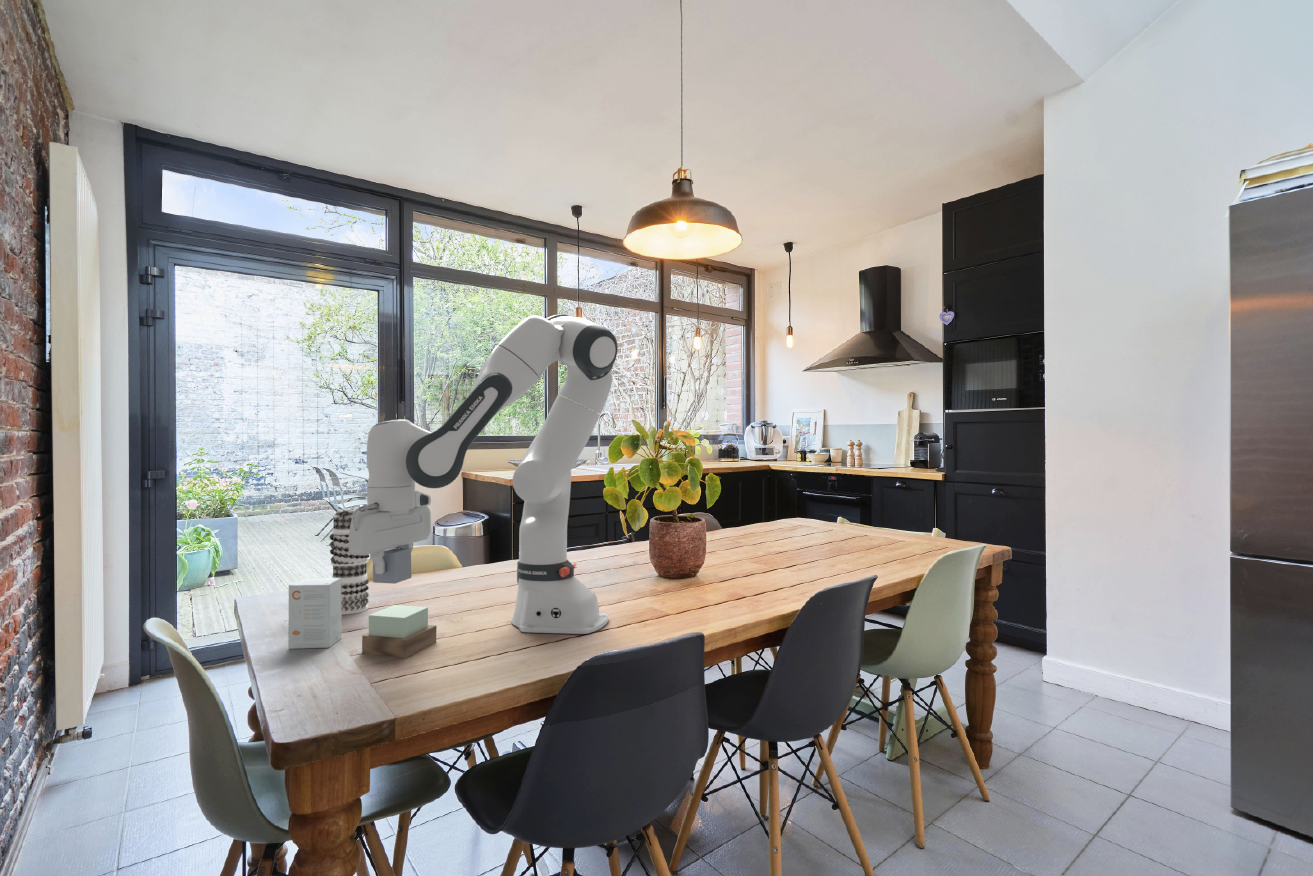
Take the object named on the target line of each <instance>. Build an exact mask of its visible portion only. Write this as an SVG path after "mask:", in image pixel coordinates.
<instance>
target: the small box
mask: <svg viewBox="0 0 1313 876" xmlns="http://www.w3.org/2000/svg"><path fill="white" fill-rule="evenodd" d="M342 618H343V617H342V612H341V578H332V577H329V578H327V577H326V578H302V579H301V578H300V580H297V581H295V582H293V583H290V584H289V585H288V640H287V641H288V649H289V650H292V649H293V650H296V649H321V648H324V649H325V648H326V649H329V648H331V647H332V646H333V645H335V644H336V643H337V642H338V641H339V640H341V639H342Z"/></svg>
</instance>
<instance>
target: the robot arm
mask: <svg viewBox="0 0 1313 876" xmlns="http://www.w3.org/2000/svg"><path fill="white" fill-rule="evenodd" d="M618 348H619V346H618V340H617V338H616V336H615V334H614V333H613V332H612V331H611V330H610V329H608V328H607V327H605V326H603V325H602V324H597V323H595V322H593V321H591V320H589V319H586V318H583V317H582V318H581V317H575V316H571V315H568V314H554V315H551V316H549V317H546V318H545V317H543V316H540V315H531V316H527V318H524V319H523V320H522V321H520V322H519V323H518V324H517V325H516V326H515V327H514V328H512V329H511V330H510V331H509V332H508V333H507V334H506V335H505V336H504V337H503V338H502V340H500V342H499V343H498V344H497V345H496V346H495V347H494V348H493V350H492V351H491V353H490V354H489V355H488V357H487V358H486V360H485V362H484V363H483V365H482V367H481V369H480V371H479V373H478V375H477V378H476V380H475V382H474V385H473V387H472V389H471V391H470V392H469V394H468V395H467V396H466V398H465V399H464V400H463V401H462V403H461V404H460V405H459V406H458V407H457V409H456V410H455V411H454V412H453V413H452V414H451V415H450V417H448V419H447V420H446V421H445V422H444V423H443V424H442V425H441V426H440V427H439V428H438V429H436V430H434V431H433V432H431V431H429V430H426V429H424V428H422V427H420V426H418V425H416V424H415V423H414V422H412V421H410V420H409V419H405V418H402V419H401V418H399V419H391V420H386V421H381V422H378V423H376V424H375V425H373V426H372V427H371V428H370V430H369V431H368V436H367V441H366V442H367V443H366V467H367V469H368V480H367V485H366V487H367V488H366V495H367V496H366V499H367V500H366V502H367V503H366V504H360V505H359V506H357V509H356V510H355V512H354V513H353V515H352V520H351V524H350V531H349V544H348V548H349V551H350V553H351V554H352V555H369V558H370V559H371V561H372V564H373V563H374V565H375V573H376V574H383V573H386V572H387V571H388V569H387V568H388V564H385V563H384V560H383V558H382V556H384V550H388V549H392V548H411V553H412V552H413V550H414V543H418V542H422V541H425V540H428V539H429V537H430V535H431V532H432V531H431V529H432V519H431V518H432V517H431V516H432V515H431V509H430V508H429V506H430V505H431V503H432V499H431V498H432V497H431V496H430V494H426V493H424V492H422V491H421V492H420V491H419V490H416V484H418V485H420V486H422V487H424V488H427V489H440V488H441V489H442V488H445V487H446V486H449V485H450V484H451V483H453V482H455V480H456V479H457V478H458V477H459V475H460V473H461V471H462V468H463V465H464V461H465V456H466V454H467V452H468V450H469V448H470V447H471V445H472V444H473V442H474V441H475V440H476V438H478V436H479V435H480V434H481V432H482V431H483V430H484V429H485V427H486V426H488V424H489V423H490V421H491V420H492V419H493V418H494V417H495V416H496V415H497V414H498V413H500V412H501V411H502V410H503V409H505V408H506V407H508V406H510V405H511V404H513V403H515V402H516V401H518V400H519V399H520V398H521V397H523V396H524V395H525V394H527V392H528V391H529V390H531V388H533V387H534V385H535V384H536V383H537V382H538V381H539V379H540V378H541V377H542V376H543V374H544V373H545V372H546V370H547V369H548V367H550V366H551V365H552V364H553V363H556V362H558V363H560V364H562V365H565V366H567V367H566V368H567V369H566V371H567V372H566V378H565V380H564V382H563V384H562V386H561V387H560V390H559V391H558V394H557V395H556V398H555V400H554V402H553V403H552V406H551V407H550V410H549V412H548V414H547V416H546V419H545V420H544V422H543V423H542V426H541V427H540V429H539V431H538V432H537V433H536V435H535V437H534V438H533V440H532V442H531V443H530V445H529V447H528V448H527V450H526V451H525V454H524V455H523V457H522V459H521V460H520V462H519V464H518V465H517V467H516V469H515V471H514V473H513V476H512V487H513V489H514V492H515V494H516V495H517V496H518V497H519V498H520V499H521V500H522V501H524V503H523V508H522V514H521V515H522V516H521V521H520V524H519V532H518V533H519V535H518V536H519V539H518V541H519V545H518V547H519V548H518V550H519V551H518V553H519V554H518V559H519V560H518V561H517V562H516V563H517V564H516V565H517V566H516V568H517V569H516V582H517V595H516V602H515V607H514V612H513V615H512V618H511V620H510V621H511V624H512V625H514V626H515V627H517V628H518V629H519V631H520V632H522V633H536V634H537V633H539V634H540V633H541V634H569V635H570V634H573V635H574V634H575V635H586V634H591V633H593V632H594V633H595V632H597V631H598V630H600V629H602V628H604V626H606V625H607V623H608V622H609V615H608V613H605V612H600V607H599V601H598V597H597V595H596V593H595V592H594V591H592V590H591V589H590V588H589V587H588V586H586V585H585V584H584V583H582V581H580V580H579V579H578V578H577V577H575V576H574V575H575V569H576V568H577V562H576V563H573V564H572V562H570V561H569V560H568V559H567V558H568V555H567V554H568V520H569V512H570V501H571V489H572V487H571V486H572V469H573V468H574V466H575V464H576V462H577V460H578V459H579V457H580V456H581V454H582V452H583V450H584V449H585V447H586V446H587V443H588V441H589V440H590V437H591V435H592V434H593V432H594V429H595V427H596V425H597V423H598V421H599V418H600V417H601V414H602V412H603V410H604V409H605V405H606V402H607V400H608V397H609V394H610V391H611V387H612V384H613V380H614V379H613V373H612V371H611V370H612V369H613V367H614V364H615V362H616V360H617V355H618ZM357 511H359V512H357Z"/></svg>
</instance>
